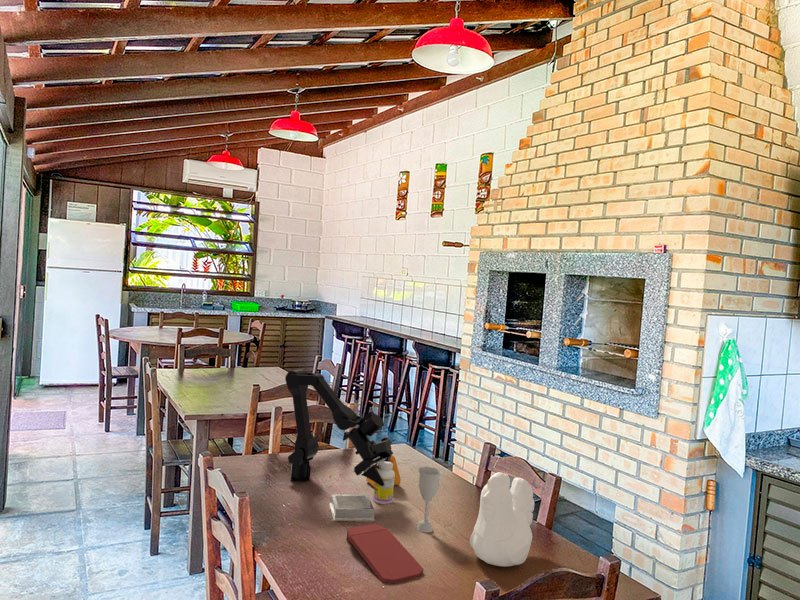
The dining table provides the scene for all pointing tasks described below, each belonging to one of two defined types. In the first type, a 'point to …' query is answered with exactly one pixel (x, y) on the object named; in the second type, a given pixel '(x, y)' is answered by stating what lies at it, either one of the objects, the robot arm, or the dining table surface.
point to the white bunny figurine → (504, 521)
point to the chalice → (428, 493)
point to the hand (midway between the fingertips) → (388, 482)
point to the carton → (384, 553)
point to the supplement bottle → (386, 491)
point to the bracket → (395, 469)
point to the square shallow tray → (351, 508)
